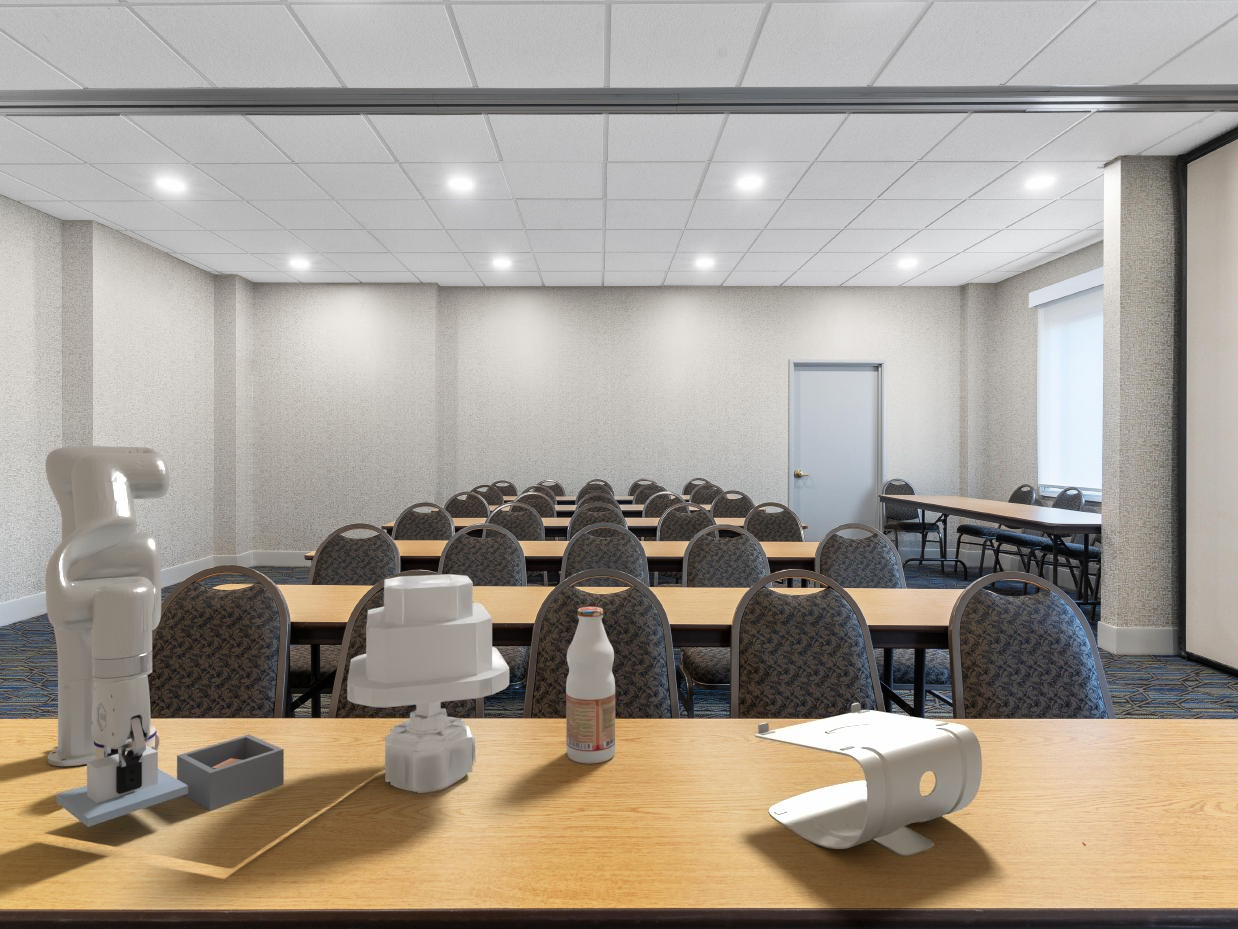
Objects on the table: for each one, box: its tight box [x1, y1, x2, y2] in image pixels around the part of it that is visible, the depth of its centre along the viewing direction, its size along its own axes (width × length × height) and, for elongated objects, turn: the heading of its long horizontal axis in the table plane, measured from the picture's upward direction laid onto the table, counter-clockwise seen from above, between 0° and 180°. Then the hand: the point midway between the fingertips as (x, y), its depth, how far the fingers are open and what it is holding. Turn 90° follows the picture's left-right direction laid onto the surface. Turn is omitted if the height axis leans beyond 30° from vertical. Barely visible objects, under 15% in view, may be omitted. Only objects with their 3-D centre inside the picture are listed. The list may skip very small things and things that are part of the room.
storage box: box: [176, 734, 285, 812], centre depth 123 cm, size 12×12×7 cm
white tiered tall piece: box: [346, 573, 510, 794], centre depth 129 cm, size 27×27×35 cm
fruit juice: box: [565, 606, 616, 764], centre depth 139 cm, size 9×9×28 cm
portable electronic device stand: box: [754, 702, 983, 857], centre depth 113 cm, size 26×24×16 cm
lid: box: [55, 746, 188, 828], centre depth 110 cm, size 13×13×6 cm
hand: (123, 785), depth 110 cm, fingers closed on lid, 4 cm apart
